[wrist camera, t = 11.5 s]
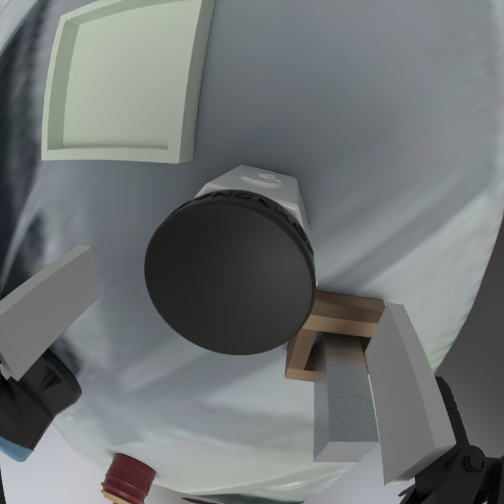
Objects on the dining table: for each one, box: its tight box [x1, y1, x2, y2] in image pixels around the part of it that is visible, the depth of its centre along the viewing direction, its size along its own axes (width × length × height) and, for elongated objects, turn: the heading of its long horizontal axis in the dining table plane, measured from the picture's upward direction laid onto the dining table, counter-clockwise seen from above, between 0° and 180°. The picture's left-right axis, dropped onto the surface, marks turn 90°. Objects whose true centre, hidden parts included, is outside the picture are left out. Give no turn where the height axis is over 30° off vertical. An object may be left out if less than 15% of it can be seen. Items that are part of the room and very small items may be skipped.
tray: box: [42, 0, 216, 164], centre depth 18 cm, size 16×16×3 cm
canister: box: [101, 454, 156, 504], centre depth 48 cm, size 13×13×18 cm
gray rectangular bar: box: [313, 331, 379, 462], centre depth 20 cm, size 3×3×14 cm
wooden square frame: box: [285, 290, 385, 382], centre depth 25 cm, size 8×8×4 cm
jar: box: [144, 165, 318, 355], centre depth 18 cm, size 9×8×12 cm
